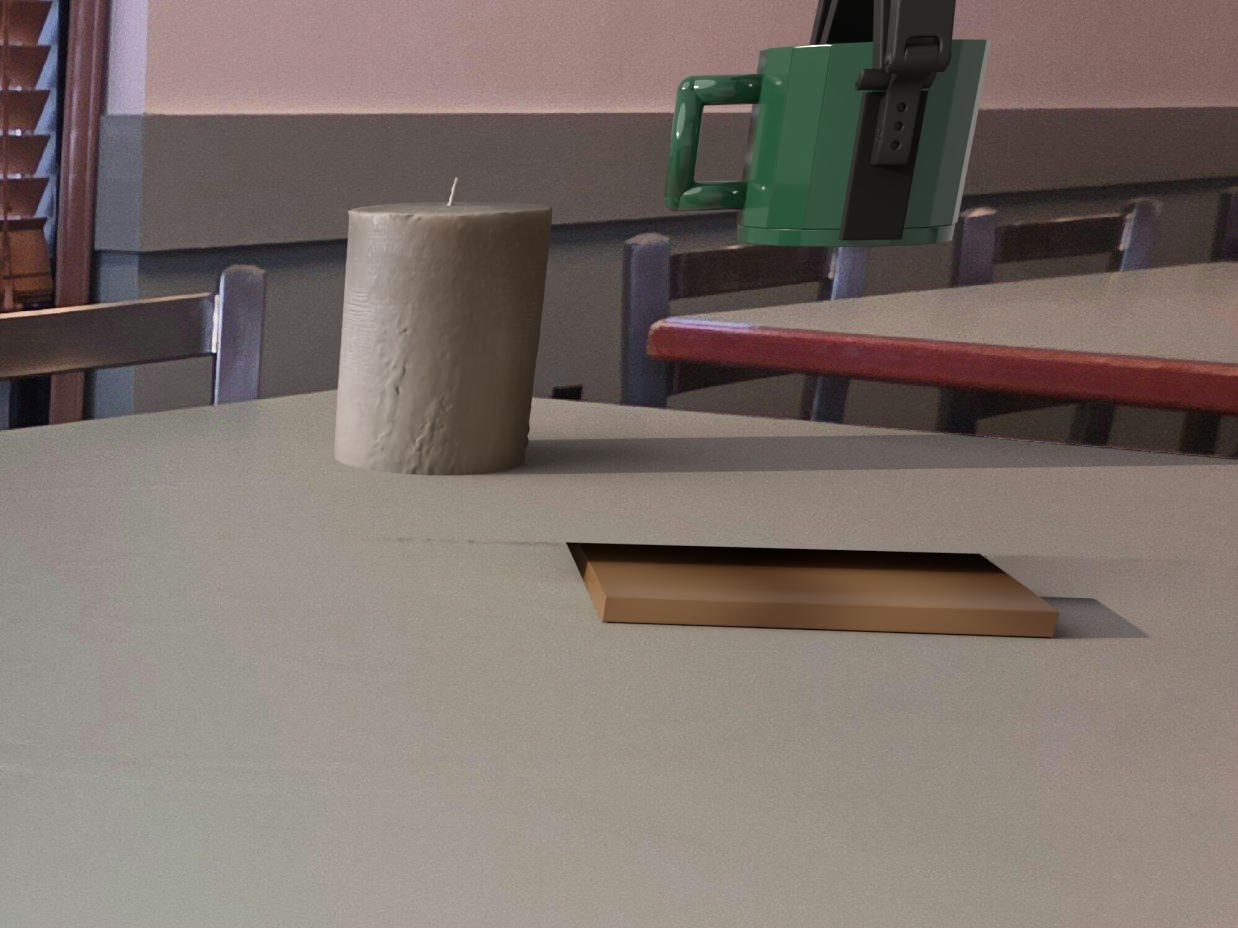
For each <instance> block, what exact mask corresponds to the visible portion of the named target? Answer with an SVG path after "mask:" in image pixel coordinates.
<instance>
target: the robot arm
mask: <svg viewBox="0 0 1238 928" xmlns="http://www.w3.org/2000/svg"><path fill="white" fill-rule="evenodd" d="M956 3H957V0H818V2H817V6H816V12H815V16H814V20H813V25H812V30H811V35H810V40H809V44H808V45H820V44H838V43H860V42H874V46H873V59H872V69H862V73H860V75H859V77H858V79H857V83H855V90H856V91H862V90H882V92H863V93H862V99H861V105H860V111H859V118H858V124H857V130H856V136H855V142H854V148H853V154H852V160H851V166H850V172H849V178H848V184H847V190H846V197H845V203H844V209H843V215H842V221H841V227H840V233H839V239H838V240H902V236H903V230H904V225H905V219H906V214H907V208H908V202H909V197H910V191H911V186H912V180H913V174H914V169H915V163H916V158H917V152H918V146H919V141H920V135H921V130H922V124H923V118H924V113H925V107H926V102H927V96H928V91H921V90H922V89H929V88H930V87H931V86H932V84H933V81H934V80H935V78H936V74H937V72H944V71H945V70H946V69H947V67H948V66H949V63H950V61H951V56H952V52H951V45H952V39H953V35H954V24H955V14H956V5H957V4H956Z"/></svg>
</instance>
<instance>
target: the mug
mask: <svg viewBox="0 0 1238 928" xmlns="http://www.w3.org/2000/svg"><path fill="white" fill-rule="evenodd" d="M873 46H874V42H860V43H838V44H820V45H809V44H806V45H803V44H802V45H791V46H778V47H775V46H774V47H767V48H762V49H760V50H759V55H758V56H759V57H758V60H757V61H758V62H757V69H756V73H727V74H700V75H699V74H697V75H694V74H693V75H689V76H686V77H684V78H683V79H682V80H681V81H680V82H679V84H678V85H677V88H676V93H675V94H676V95H675V102H674V111H673V118H672V125H671V134H670V142H669V150H668V158H667V159H668V160H667V167H666V175H665V184H664V190H663V191H664V192H663V193H664V194H663V203H664V205H665V207H666V208H667V209H668V210H669V211H672V212H699V211H701V212H702V211H703V212H704V211H705V212H707V211H737V212H736V220H735V225H736V226H737V227H736V232H735V239H734V241H735V242H737V243H739V244H746V245H747V244H748V245H757V246H758V245H760V246H774V247H775V246H776V247H803V248H804V247H810V248H872V247H902V246H903V247H906V246H922V245H933V244H935V245H936V244H944V243H948V242H952V240H953V237H954V232H955V227H956V224H957V223H958V220H959V215H960V210H961V206H962V199H963V195H964V190H965V189H964V188H965V184H966V178H967V173H968V168H969V162H970V157H971V152H972V147H973V141H974V137H975V131H976V125H977V121H978V120H977V119H978V115H979V111H980V110H979V109H980V104H981V100H982V94H983V89H984V84H985V79H986V73H987V68H988V62H989V58H990V53H991V47H992V40H991V39H986V38H952V45H951V52H952V56H951V61H950V63H949V66H948V67H947V69H946V70H945V71H944V72H937V74H936V78H935V80H934V81H933V84H932V86H931V87H930V88H929V89H922V90H921V91H928V96H927V102H926V107H925V113H924V118H923V124H922V130H921V135H920V141H919V146H918V152H917V158H916V163H915V169H914V174H913V180H912V186H911V191H910V197H909V202H908V208H907V214H906V219H905V225H904V230H903V236H902V240H838V239H839V233H840V227H841V221H842V215H843V209H844V203H845V197H846V190H847V184H848V178H849V172H850V166H851V160H852V154H853V148H854V142H855V136H856V130H857V124H858V118H859V111H860V105H861V99H862V93H863V92H882V90H862V91H856V90H855V83H857V79H858V77H859V75H860V73H862V69H872V59H873ZM738 105H739V106H742V105H751V112H750V119H749V126H748V133H747V140H746V147H745V154H744V161H743V167H742V168H743V170H742V175H741V176H742V177H741V180H706V181H701V180H700V181H695V180H696V172H697V165H698V164H697V163H698V157H699V149H700V139H701V133H702V125H703V118H704V110H705V106H706V107H708V106H738Z"/></svg>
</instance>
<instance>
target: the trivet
mask: <svg viewBox="0 0 1238 928" xmlns="http://www.w3.org/2000/svg"><path fill="white" fill-rule="evenodd" d="M565 544H566V546H567V548H568V550H569V552H570V555H571V557H572V560H573V561H574V563H575V565H576V568H577V571H578V572H579V574H580V576H581V579H582V581H583V584H584V585H585V587H586V589H587V592H588V594H589V596H590V598H591V601H592V602H593V605H594V607H595V610H596V611H597V613H598V616H599V618H600V620H601V621H602V622H606V623H607V622H608V623H630V624H631V623H633V624H635V623H636V624H663V625H690V626H716V627H717V626H720V627H745V628H746V627H748V628H777V629H804V630H805V629H806V630H830V631H831V630H835V631H836V630H837V631H861V632H863V631H864V632H890V633H915V634H916V633H922V634H923V633H924V634H943V635H945V634H946V635H947V634H949V635H972V636H973V635H975V636H976V635H977V636H1005V637H1033V638H1034V637H1035V638H1053V637H1054V636H1055V631H1056V628H1057V623H1058V619H1059V616H1060V610H1058V609H1057V608H1056V607H1054V606H1053V605H1051V604H1050V603H1049V602H1047V600H1045V599H1043V598H1042V597H1040V596H1039V595H1037V594H1036V592H1033V591H1032V590H1031V589H1030V588H1028V587H1026V586H1025V584H1023V583H1021V582H1020V581H1018V580H1017V579H1015V578H1014V577H1013V576H1012V575H1010V574H1009V573H1007V572H1006V571H1005V570H1004V569H1002V568H1001V567H999V566H998V565H996V563H994V562H992V561H990V559H988V558H987V557H985V556H984V555H982V554H981V553H973V552H972V553H971V552H941V551H940V552H937V551H936V552H935V551H903V550H902V551H899V550H869V549H868V550H867V549H866V550H865V549H864V550H863V549H832V548H831V549H830V548H827V549H826V548H792V547H791V548H790V547H787V548H786V547H759V546H719V545H718V546H717V545H715V546H714V545H713V546H712V545H686V544H685V545H680V544H647V543H646V544H645V543H612V542H609V543H607V542H575V541H574V542H572V541H568V542H567V541H565Z"/></svg>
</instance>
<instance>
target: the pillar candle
mask: <svg viewBox="0 0 1238 928" xmlns="http://www.w3.org/2000/svg"><path fill="white" fill-rule="evenodd" d="M460 182H461V178H460V177H455V179H454V180H453V184H452V187H451V194H450V196H449V199H448V200H449V201H431V202H402V203H399V202H398V203H391V204H389V203H388V204H387V203H386V204H376V205H369V206H361V207H355V208H353V209H350V210H347V214H348V229H347V247H346V259H345V260H346V261H345V275H344V276H345V277H344V278H345V279H344V293H343V306H342V307H343V309H342V325H341V340H340V352H339V365H338V366H339V367H338V381H337V393H336V395H337V396H336V414H335V430H334V431H335V433H334V453H333V456H334V458H335V460H336V461H337V462H339V463H341V464H343V465H346V466H350V467H354V468H358V469H362V470H367V471H375V472H383V473H390V474H391V473H392V474H401V475H417V476H418V475H420V476H473V475H486V474H495V473H501V472H506V471H511V470H514V469H516V468H518V467H521V466H522V465H523V464H524V463H525V458H526V457H525V456H526V452H527V447H528V446H529V434H530V429H531V427H530V426H531V425H530V420H531V412H532V403H533V393H534V385H535V373H536V367H537V360H538V359H537V358H538V354H539V353H538V352H539V345H540V338H541V326H542V318H543V317H542V316H543V309H544V300H545V291H546V290H545V289H546V281H547V280H546V279H547V270H548V269H547V268H548V261H549V254H550V246H551V245H550V243H551V234H552V233H551V232H552V221H553V207H552V206H551V205H545V204H539V203H537V204H536V203H524V202H523V203H519V202H504V201H503V202H502V201H455V198H456V194H457V190H458V187H459V185H460Z"/></svg>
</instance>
